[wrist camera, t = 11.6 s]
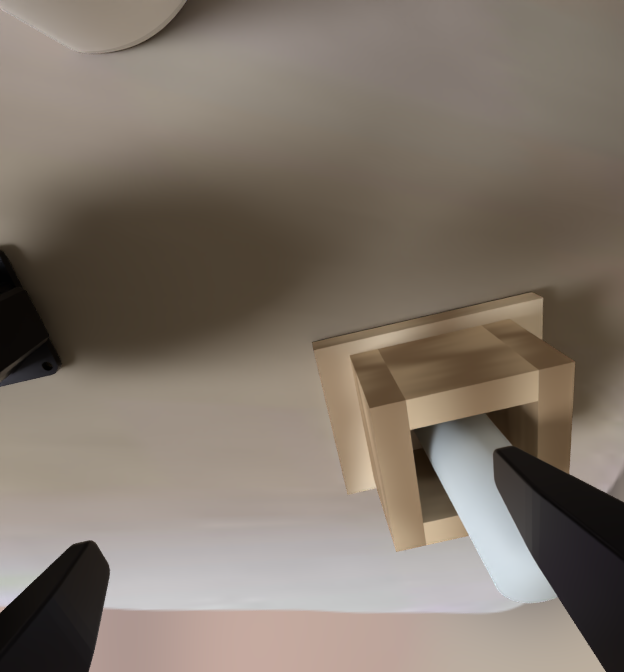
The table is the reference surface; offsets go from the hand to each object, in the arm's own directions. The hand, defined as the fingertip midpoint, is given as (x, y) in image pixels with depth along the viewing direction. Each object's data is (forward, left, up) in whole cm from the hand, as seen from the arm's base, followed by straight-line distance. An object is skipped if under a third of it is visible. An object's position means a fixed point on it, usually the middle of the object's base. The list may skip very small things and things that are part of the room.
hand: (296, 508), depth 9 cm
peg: (+7, -7, -12) cm, 16 cm away
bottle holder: (+7, -7, -13) cm, 16 cm away
